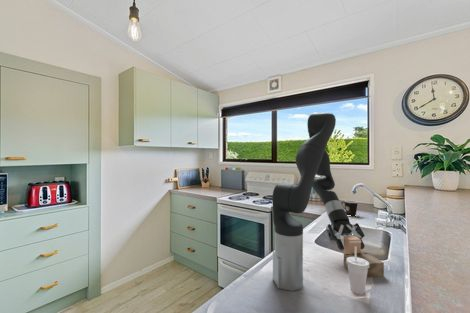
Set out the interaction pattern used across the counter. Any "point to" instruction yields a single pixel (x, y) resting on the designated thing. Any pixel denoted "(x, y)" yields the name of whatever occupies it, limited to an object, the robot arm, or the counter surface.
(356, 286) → the smoothie
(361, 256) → the brown rectangular box
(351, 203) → the coffee mug
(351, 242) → the tan rectangular box
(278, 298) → the counter surface
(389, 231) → the counter surface
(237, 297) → the counter surface
